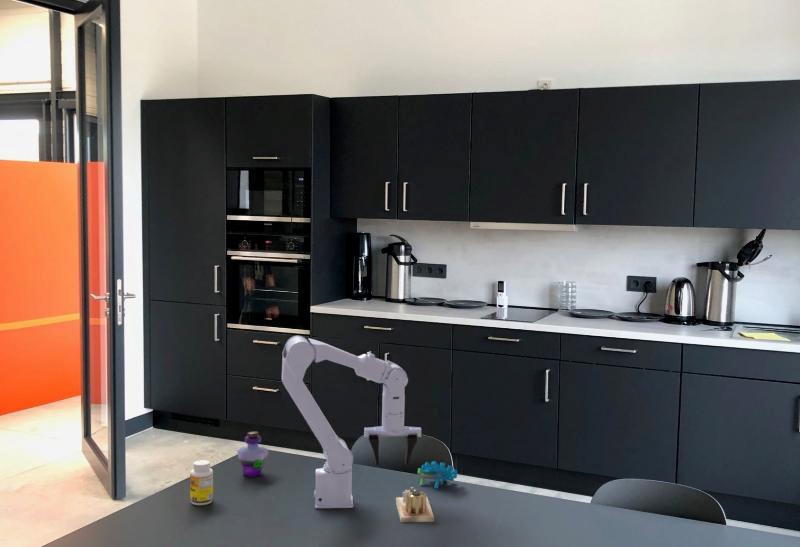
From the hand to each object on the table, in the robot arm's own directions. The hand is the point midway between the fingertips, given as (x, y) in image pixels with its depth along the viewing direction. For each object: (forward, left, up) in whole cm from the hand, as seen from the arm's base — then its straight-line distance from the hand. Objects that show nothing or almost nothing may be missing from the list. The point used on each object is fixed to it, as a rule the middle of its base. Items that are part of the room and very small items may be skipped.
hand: (392, 463), depth 203 cm
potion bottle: (-37, +20, -10) cm, 43 cm away
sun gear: (+5, -4, -8) cm, 11 cm away
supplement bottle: (-48, 0, -10) cm, 49 cm away
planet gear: (+5, -11, -8) cm, 15 cm away
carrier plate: (+5, -9, -9) cm, 14 cm away
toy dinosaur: (+13, +10, -10) cm, 19 cm away
